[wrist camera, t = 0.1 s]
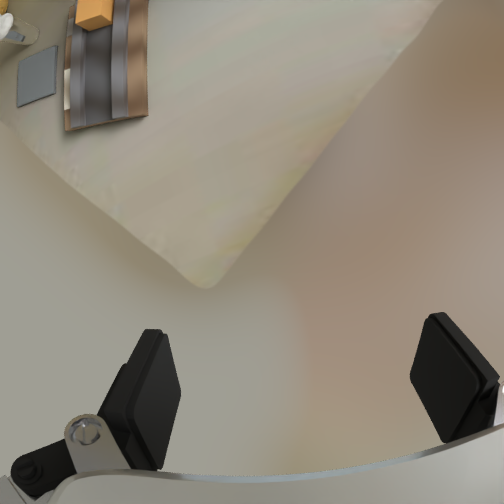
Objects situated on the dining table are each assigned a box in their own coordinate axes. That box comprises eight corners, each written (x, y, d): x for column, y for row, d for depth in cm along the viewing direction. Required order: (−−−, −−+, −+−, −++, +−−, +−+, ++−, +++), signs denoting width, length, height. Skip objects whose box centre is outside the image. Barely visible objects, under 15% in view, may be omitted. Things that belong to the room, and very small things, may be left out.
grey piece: (76, 10, 29) (64, 4, 26) (149, -12, 29) (141, -22, 26) (72, 130, 36) (59, 131, 33) (148, 115, 36) (138, 113, 33)
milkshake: (41, 16, 29) (4, 1, 20) (43, 39, 31) (4, 26, 21) (21, 30, 29) (-16, 19, 20) (23, 54, 31) (-17, 45, 22)
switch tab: (91, 8, 28) (78, -1, 24) (115, 0, 28) (103, -10, 24) (89, 31, 29) (75, 23, 26) (113, 23, 29) (100, 14, 25)
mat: (21, 62, 32) (18, 61, 31) (57, 46, 31) (55, 45, 31) (19, 106, 34) (17, 106, 34) (55, 93, 34) (53, 92, 34)
